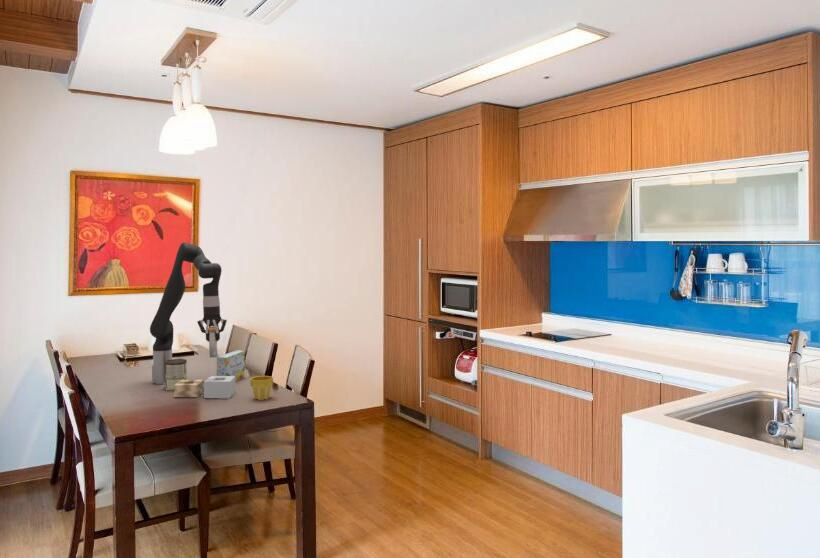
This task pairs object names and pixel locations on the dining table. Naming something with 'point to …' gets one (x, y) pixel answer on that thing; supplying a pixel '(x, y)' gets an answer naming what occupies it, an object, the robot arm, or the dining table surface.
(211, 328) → the pin
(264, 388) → the plant pot
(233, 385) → the socket
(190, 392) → the mount
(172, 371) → the coffee can
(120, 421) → the dining table surface
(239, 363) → the snack box
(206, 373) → the dining table surface
